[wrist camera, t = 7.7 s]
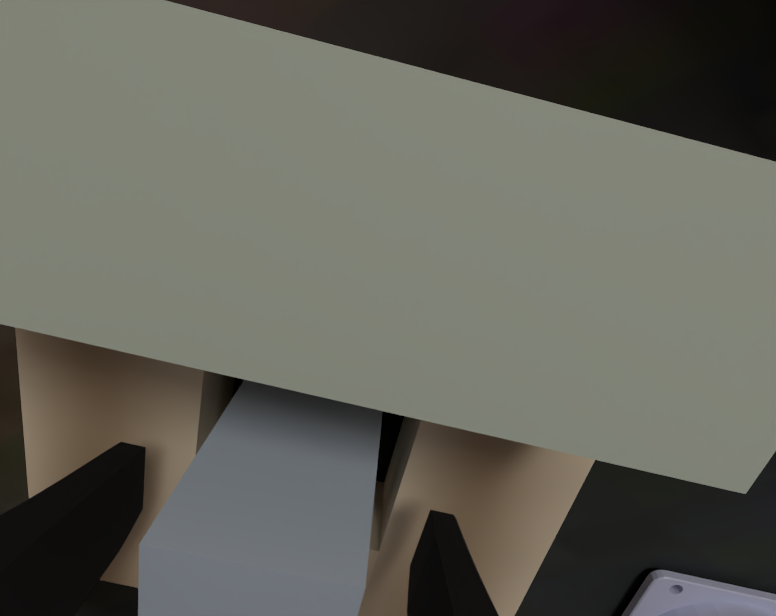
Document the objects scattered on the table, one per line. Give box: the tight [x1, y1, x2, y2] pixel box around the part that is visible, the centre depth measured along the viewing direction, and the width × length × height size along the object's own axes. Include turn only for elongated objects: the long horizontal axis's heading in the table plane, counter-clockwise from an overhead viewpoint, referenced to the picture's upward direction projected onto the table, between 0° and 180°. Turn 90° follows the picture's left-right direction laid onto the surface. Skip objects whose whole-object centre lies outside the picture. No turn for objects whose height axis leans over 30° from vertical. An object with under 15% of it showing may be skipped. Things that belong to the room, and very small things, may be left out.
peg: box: [138, 380, 383, 616], centre depth 13 cm, size 4×4×8 cm
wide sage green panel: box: [0, 0, 776, 494], centre depth 10 cm, size 14×4×8 cm, turn 77°
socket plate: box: [15, 327, 595, 616], centre depth 15 cm, size 16×14×3 cm
